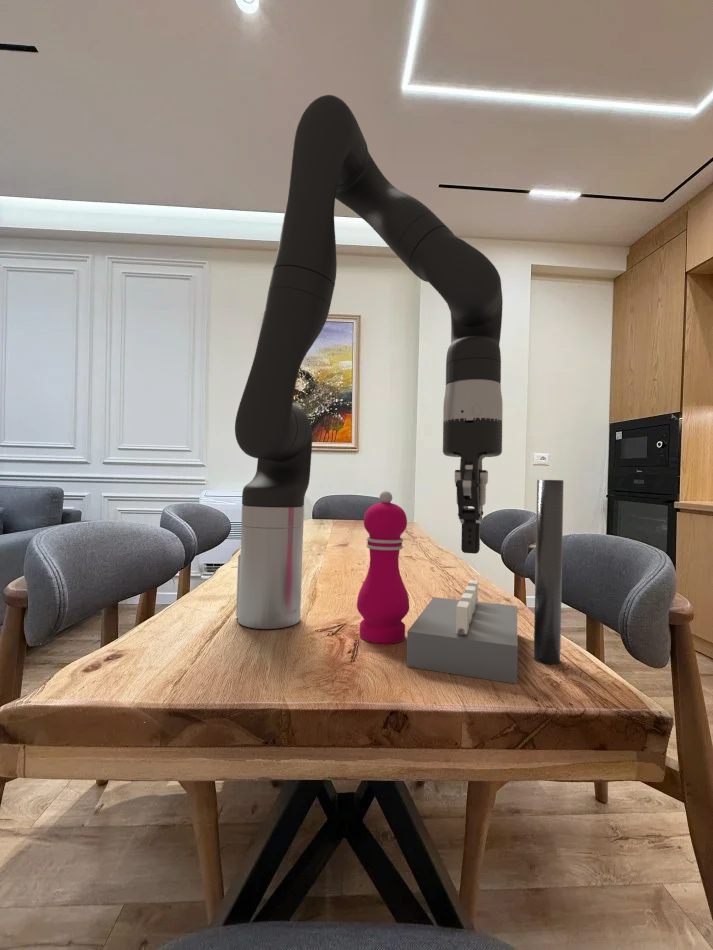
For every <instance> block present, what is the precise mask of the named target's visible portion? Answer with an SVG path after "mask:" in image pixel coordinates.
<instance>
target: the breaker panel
mask: <svg viewBox="0 0 713 950" xmlns="http://www.w3.org/2000/svg"><path fill="white" fill-rule="evenodd" d="M459 601H461V599H456V598H455V599H454V598H444V597H435V596H434V597H432V599H431V600H430V601H429V603H428V604H427V605H426V607H425V608H424V609H423V610H422V612H421V613H420V614H419V615H418V616H417V618H416V620H414V622H413V623H412V624H411V626H410V627H409V629H408V630H407V631H406V632H407V635H406V636H407V638H406V667H408V668H415V669H422V670H427V671H428V670H429V671H434V672H440V673H448V674H452V675H458V676H465V677H472V678H477V679H478V678H479V679H482V680H483V679H484V680H488V681H489V680H491V681H496V682H504V683H510V684H515V685H517V684H518V656H519V655H518V649H519V648H518V646H519V644H518V641H519V638H518V636H519V635H518V606H517V605H510V604H501V603H495V602H494V603H491V602H484V601H483V602H482V601H478V602H477V605H475V611H474V614H473V613H472V620H471V623H469V629H468V632H467V634H464V635H459V634H458V633H456V608H457V604H458V602H459Z"/></svg>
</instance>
